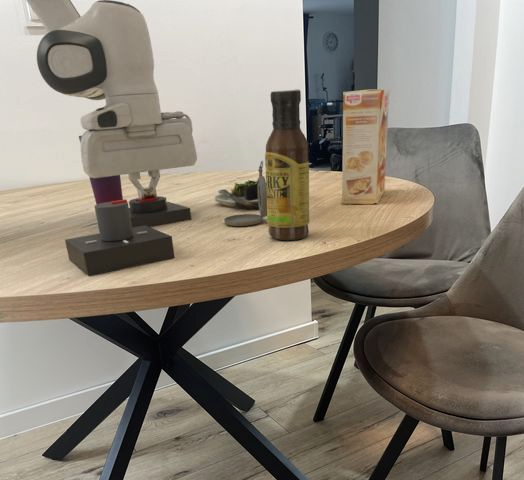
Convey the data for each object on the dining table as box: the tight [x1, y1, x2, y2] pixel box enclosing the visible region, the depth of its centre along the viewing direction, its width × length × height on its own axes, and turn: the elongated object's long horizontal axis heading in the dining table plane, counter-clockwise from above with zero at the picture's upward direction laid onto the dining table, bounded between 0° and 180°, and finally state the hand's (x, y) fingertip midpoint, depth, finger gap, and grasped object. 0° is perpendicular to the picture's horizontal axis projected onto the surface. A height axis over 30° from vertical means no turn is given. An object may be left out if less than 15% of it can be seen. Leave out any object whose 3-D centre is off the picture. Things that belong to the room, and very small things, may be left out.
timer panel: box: [64, 225, 175, 277], centre depth 71 cm, size 12×10×3 cm
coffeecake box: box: [341, 88, 390, 205], centre depth 99 cm, size 15×7×20 cm, turn 162°
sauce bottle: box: [264, 88, 310, 241], centre depth 73 cm, size 6×6×20 cm
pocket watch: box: [223, 160, 267, 227], centre depth 86 cm, size 8×8×10 cm
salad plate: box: [214, 179, 259, 211], centre depth 106 cm, size 19×18×5 cm
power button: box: [137, 197, 158, 202], centre depth 93 cm, size 4×4×2 cm
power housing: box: [128, 195, 192, 228], centre depth 94 cm, size 12×10×4 cm
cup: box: [78, 135, 124, 205], centre depth 101 cm, size 7×7×15 cm
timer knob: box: [93, 198, 133, 241], centre depth 69 cm, size 4×4×5 cm
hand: (147, 197), depth 93 cm, fingers closed, pressing on power button
